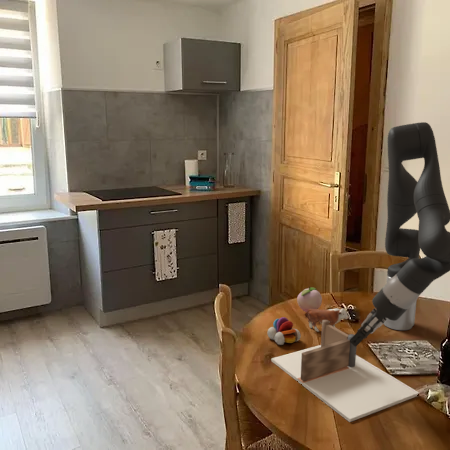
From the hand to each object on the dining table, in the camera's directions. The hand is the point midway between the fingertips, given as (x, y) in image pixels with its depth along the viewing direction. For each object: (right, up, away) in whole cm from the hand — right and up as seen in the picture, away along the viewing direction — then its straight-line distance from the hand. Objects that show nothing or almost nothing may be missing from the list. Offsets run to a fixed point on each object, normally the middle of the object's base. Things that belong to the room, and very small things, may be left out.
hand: (353, 343), depth 122 cm
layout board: (-2, -11, +6) cm, 12 cm away
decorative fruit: (-3, -1, +48) cm, 48 cm away
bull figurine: (0, -5, +34) cm, 35 cm away
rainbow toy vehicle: (-15, -6, +27) cm, 32 cm away
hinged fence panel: (-6, -9, +6) cm, 12 cm away
